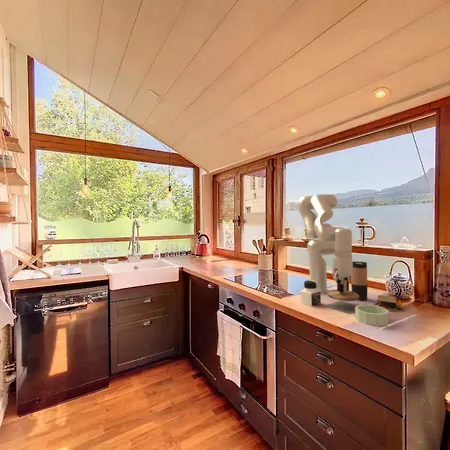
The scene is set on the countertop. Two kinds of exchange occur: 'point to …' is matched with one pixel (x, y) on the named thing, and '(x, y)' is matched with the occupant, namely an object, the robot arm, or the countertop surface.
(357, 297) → the lid
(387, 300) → the toy sandwich meal
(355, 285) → the travel mug
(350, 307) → the mat
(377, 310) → the bowl
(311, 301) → the medicine bottle
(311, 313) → the countertop surface
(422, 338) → the countertop surface
